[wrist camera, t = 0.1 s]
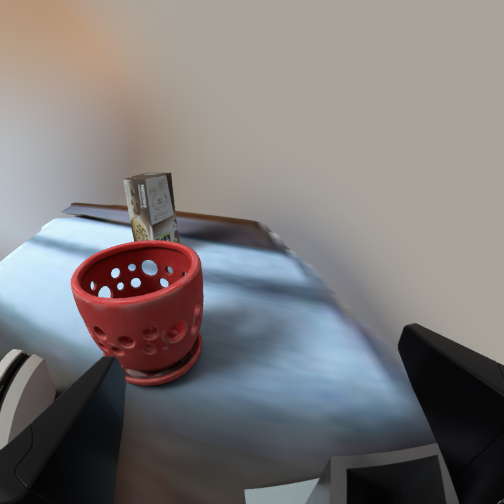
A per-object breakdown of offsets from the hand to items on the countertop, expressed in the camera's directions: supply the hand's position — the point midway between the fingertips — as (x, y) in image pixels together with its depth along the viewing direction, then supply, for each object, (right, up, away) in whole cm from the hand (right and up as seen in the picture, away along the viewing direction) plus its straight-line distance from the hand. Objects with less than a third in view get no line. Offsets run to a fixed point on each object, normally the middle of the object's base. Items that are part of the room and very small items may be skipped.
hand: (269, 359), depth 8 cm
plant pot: (-11, -9, +22) cm, 26 cm away
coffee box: (-21, +3, +51) cm, 55 cm away
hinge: (-22, -16, +7) cm, 28 cm away
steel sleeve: (+5, -15, +2) cm, 16 cm away
